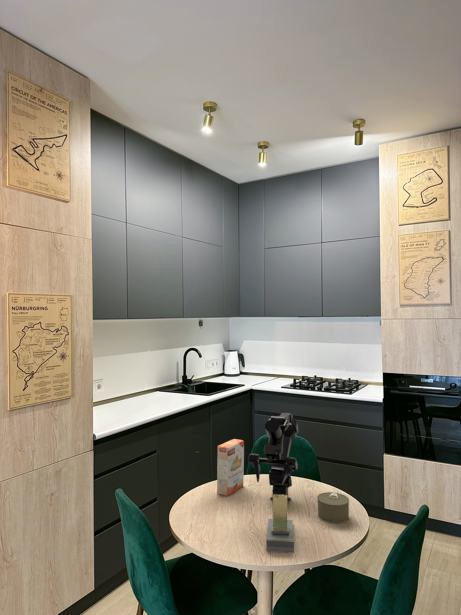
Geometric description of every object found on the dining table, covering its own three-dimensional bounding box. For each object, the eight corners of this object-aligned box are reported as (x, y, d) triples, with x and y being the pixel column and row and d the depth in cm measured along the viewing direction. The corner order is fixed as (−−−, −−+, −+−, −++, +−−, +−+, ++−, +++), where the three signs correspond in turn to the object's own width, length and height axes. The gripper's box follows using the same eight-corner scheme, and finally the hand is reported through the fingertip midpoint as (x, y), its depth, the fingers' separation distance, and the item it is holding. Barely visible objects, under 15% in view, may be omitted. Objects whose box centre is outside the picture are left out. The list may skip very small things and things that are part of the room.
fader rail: (268, 522, 163) (268, 513, 163) (292, 523, 162) (292, 514, 162) (266, 551, 143) (266, 540, 143) (294, 552, 142) (293, 541, 142)
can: (315, 521, 165) (315, 502, 165) (319, 507, 176) (319, 490, 176) (348, 525, 161) (348, 506, 161) (350, 511, 172) (349, 494, 173)
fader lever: (271, 526, 156) (271, 493, 156) (288, 527, 155) (288, 493, 156) (271, 533, 151) (271, 498, 151) (288, 534, 150) (288, 499, 151)
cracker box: (228, 496, 187) (228, 447, 188) (216, 493, 190) (216, 445, 191) (244, 486, 199) (244, 440, 199) (233, 483, 202) (233, 438, 203)
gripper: (248, 433, 172) (241, 471, 162) (295, 437, 167) (291, 476, 156) (254, 446, 180) (247, 484, 170) (299, 450, 174) (295, 489, 164)
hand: (269, 483), depth 165 cm, fingers open, 9 cm apart
